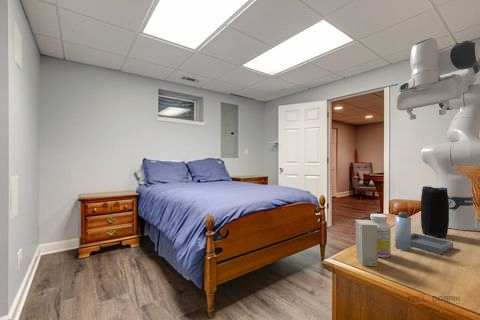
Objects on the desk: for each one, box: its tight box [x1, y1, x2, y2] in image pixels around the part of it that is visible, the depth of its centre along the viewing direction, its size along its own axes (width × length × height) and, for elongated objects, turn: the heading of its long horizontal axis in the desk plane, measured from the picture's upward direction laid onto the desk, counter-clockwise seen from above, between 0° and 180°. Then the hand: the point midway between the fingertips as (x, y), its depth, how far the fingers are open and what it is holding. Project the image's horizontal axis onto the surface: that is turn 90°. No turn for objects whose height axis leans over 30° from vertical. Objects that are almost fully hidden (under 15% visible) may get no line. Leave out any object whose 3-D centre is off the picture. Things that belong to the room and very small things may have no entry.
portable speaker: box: [420, 186, 449, 239], centre depth 92 cm, size 9×9×20 cm
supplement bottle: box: [369, 213, 392, 258], centre depth 74 cm, size 7×7×13 cm
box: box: [411, 232, 454, 256], centre depth 81 cm, size 11×12×2 cm
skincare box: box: [355, 219, 379, 267], centre depth 68 cm, size 6×4×12 cm
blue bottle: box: [394, 211, 412, 252], centre depth 78 cm, size 4×4×12 cm
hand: (427, 117), depth 87 cm, fingers open, 8 cm apart
